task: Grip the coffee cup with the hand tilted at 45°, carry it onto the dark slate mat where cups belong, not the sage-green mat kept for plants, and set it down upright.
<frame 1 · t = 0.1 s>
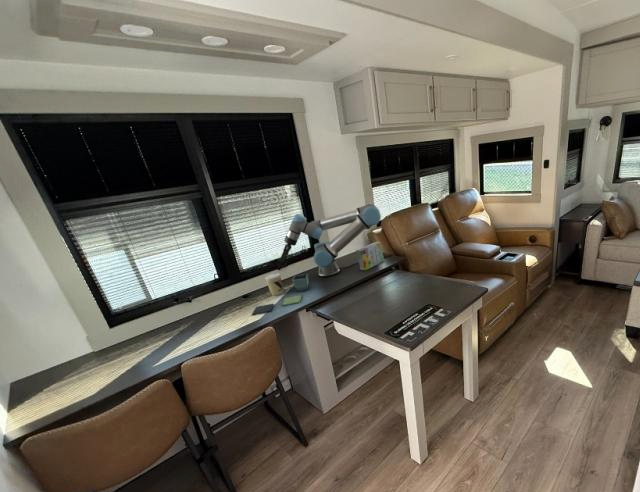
hand: (279, 266, 207), 15 cm above the table, tool tilted 35°, fingers open, 13 cm apart
slate mat: (263, 309, 183), on the table
coffee cup: (278, 293, 205), on the table
flower pot: (303, 289, 204), on the table
sage mat: (292, 301, 189), on the table
snack box: (372, 265, 231), on the table
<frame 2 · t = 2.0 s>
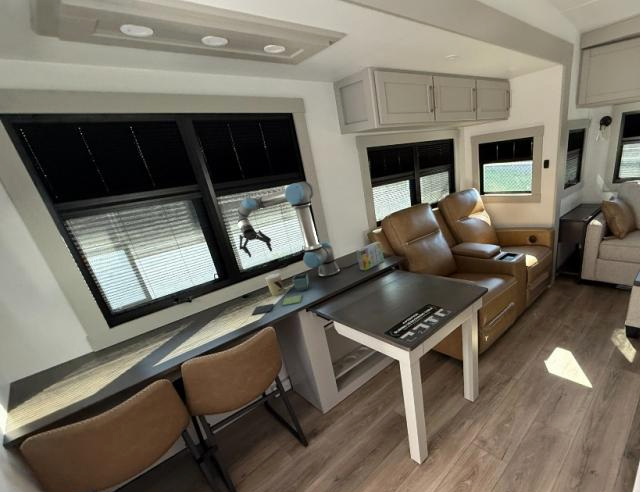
hand: (261, 253, 203), 26 cm above the table, tool tilted 45°, fingers open, 13 cm apart
nothing on the table moved.
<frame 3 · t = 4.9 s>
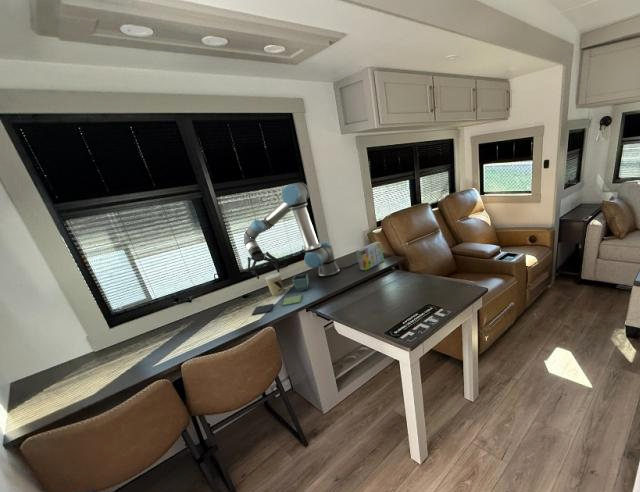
hand: (268, 274, 205), 12 cm above the table, tool tilted 45°, fingers open, 13 cm apart
nothing on the table moved.
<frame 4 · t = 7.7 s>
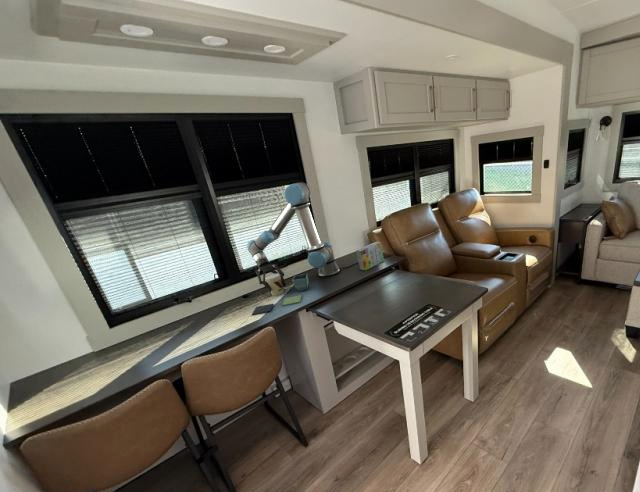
hand: (277, 288, 201), 4 cm above the table, tool tilted 45°, fingers closed on coffee cup, 9 cm apart
coffee cup: (278, 293, 205), on the table, touching gripper
everything else where it was.
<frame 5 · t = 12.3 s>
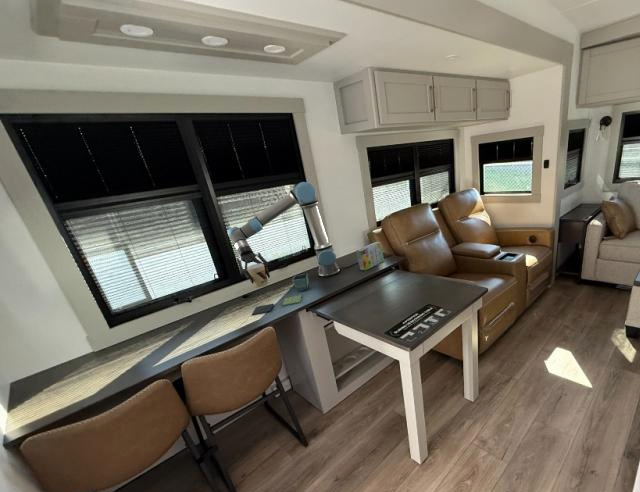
hand: (261, 279, 181), 17 cm above the table, tool tilted 45°, fingers closed on coffee cup, 9 cm apart
coffee cup: (261, 285, 185), point 12 cm above the table, touching gripper
everything else where it was.
when the fingers open (5 cm above the table, at t = 17.0 s): coffee cup stays where it is, resting on slate mat.
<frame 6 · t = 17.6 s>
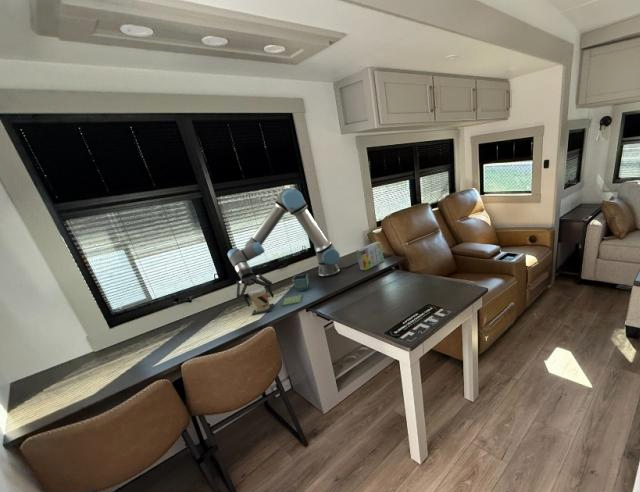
hand: (261, 300, 179), 7 cm above the table, tool tilted 45°, fingers open, 13 cm apart
coffee cup: (262, 308, 183), point 1 cm above the table, touching slate mat
everything else where it was.
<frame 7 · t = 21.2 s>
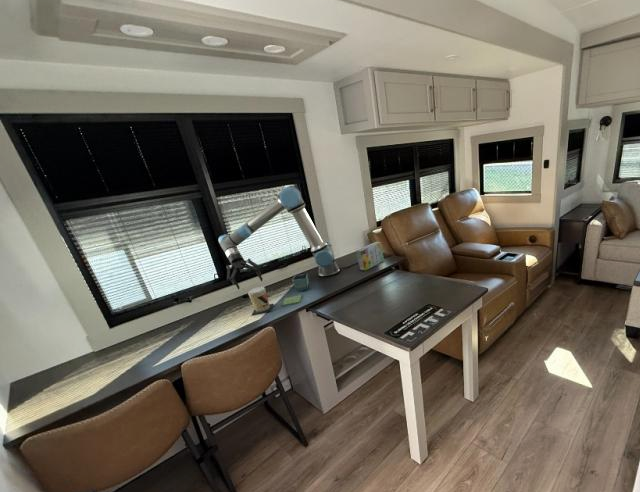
hand: (250, 283, 187), 14 cm above the table, tool tilted 45°, fingers open, 13 cm apart
nothing on the table moved.
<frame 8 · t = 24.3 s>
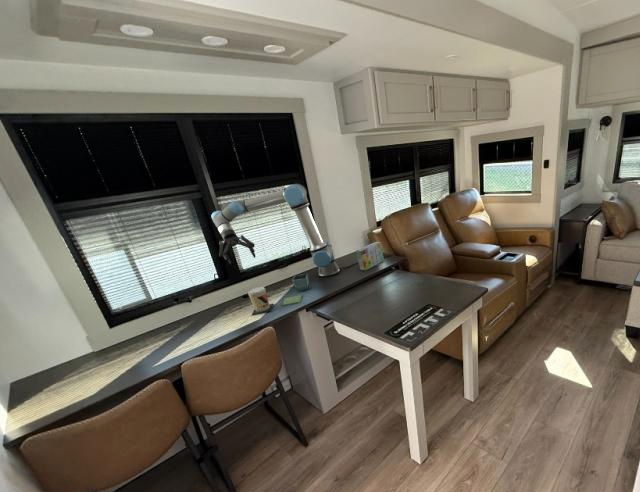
hand: (243, 259, 185), 28 cm above the table, tool tilted 45°, fingers open, 13 cm apart
nothing on the table moved.
at the end: coffee cup inside the target area on the slate mat (0.1 cm from its centre), point 0.6 cm above the slate mat's base; coffee cup tilted 0°; the gripper is holding nothing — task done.
